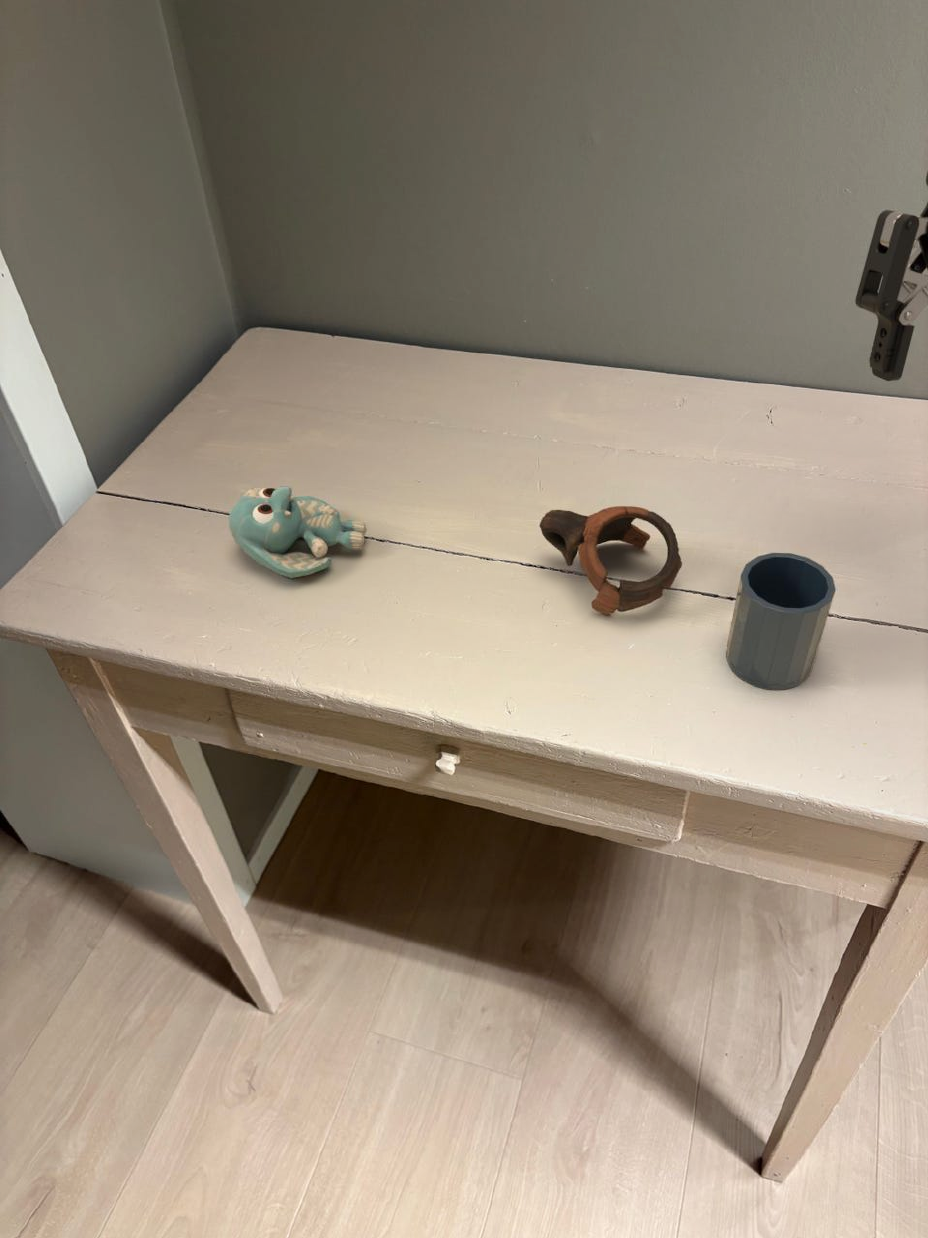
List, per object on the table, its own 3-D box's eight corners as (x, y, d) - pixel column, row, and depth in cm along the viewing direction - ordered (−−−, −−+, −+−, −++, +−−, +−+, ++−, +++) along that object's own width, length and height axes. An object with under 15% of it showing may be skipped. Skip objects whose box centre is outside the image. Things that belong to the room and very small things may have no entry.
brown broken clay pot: (677, 549, 84) (703, 514, 76) (645, 646, 82) (668, 620, 74) (549, 502, 85) (561, 462, 77) (512, 597, 82) (522, 566, 74)
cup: (784, 622, 76) (804, 544, 71) (828, 678, 72) (853, 600, 66) (711, 641, 75) (725, 563, 70) (751, 699, 71) (770, 621, 65)
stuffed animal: (361, 538, 78) (213, 518, 77) (356, 601, 83) (217, 584, 82) (375, 462, 86) (240, 443, 85) (369, 524, 91) (242, 507, 90)
